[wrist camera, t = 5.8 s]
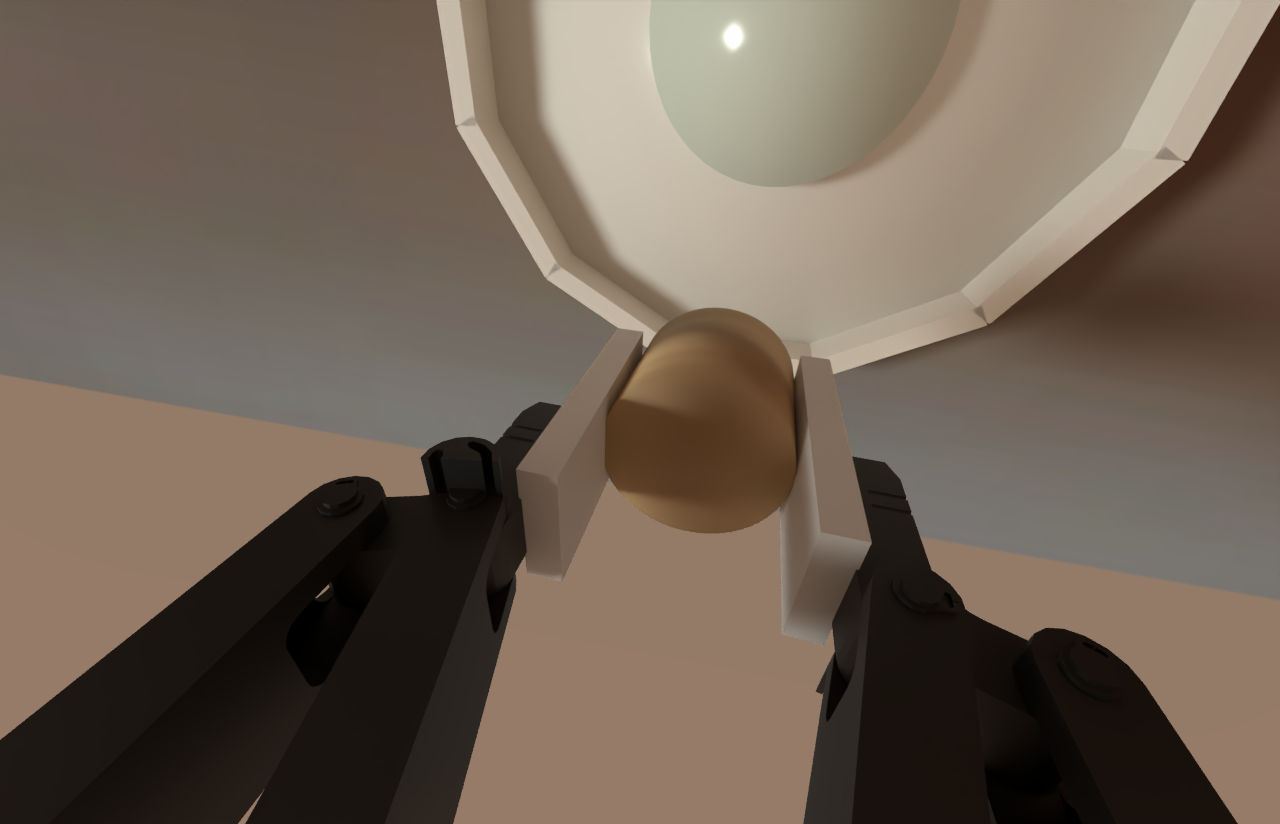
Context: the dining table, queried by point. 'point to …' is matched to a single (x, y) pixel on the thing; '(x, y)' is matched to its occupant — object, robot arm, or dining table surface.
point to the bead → (706, 424)
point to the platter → (830, 148)
